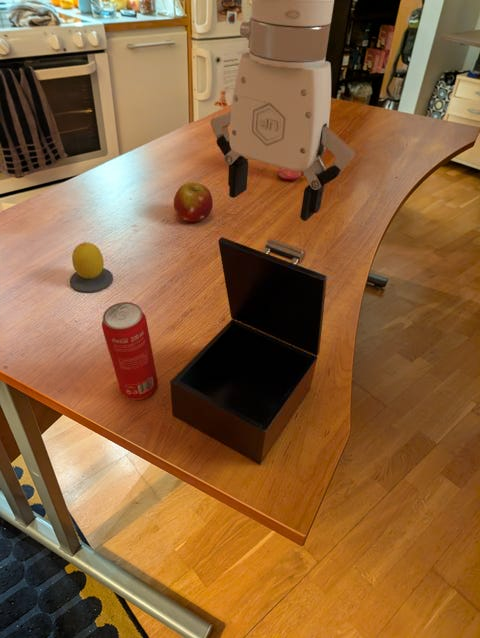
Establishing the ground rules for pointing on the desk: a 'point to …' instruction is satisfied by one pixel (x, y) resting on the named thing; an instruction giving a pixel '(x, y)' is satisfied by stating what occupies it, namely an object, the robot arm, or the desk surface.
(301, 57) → the robot arm
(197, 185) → the fruit
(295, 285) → the lid
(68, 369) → the desk surface
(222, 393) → the black open square box
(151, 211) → the desk surface
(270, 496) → the desk surface
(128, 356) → the beverage can
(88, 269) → the lemon
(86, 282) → the coaster
